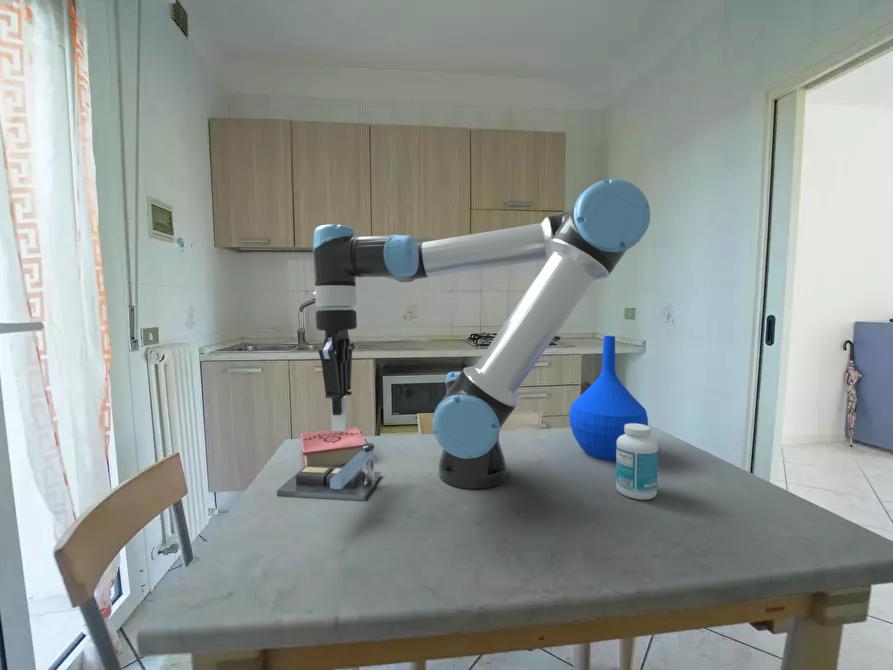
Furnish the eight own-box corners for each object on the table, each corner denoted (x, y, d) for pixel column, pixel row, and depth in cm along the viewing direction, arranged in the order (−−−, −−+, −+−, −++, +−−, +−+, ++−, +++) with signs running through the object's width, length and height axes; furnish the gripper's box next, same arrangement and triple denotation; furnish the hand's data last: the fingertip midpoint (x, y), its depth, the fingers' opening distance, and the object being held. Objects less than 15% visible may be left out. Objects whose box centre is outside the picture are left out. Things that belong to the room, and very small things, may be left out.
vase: (565, 439, 111) (567, 333, 109) (635, 443, 107) (639, 334, 105) (572, 465, 93) (575, 338, 91) (657, 471, 89) (661, 339, 87)
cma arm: (364, 452, 83) (364, 443, 83) (376, 453, 82) (376, 443, 82) (328, 488, 67) (328, 476, 67) (342, 489, 66) (342, 477, 66)
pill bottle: (655, 488, 81) (657, 423, 80) (657, 504, 74) (660, 434, 73) (615, 481, 84) (617, 419, 83) (614, 496, 77) (616, 429, 76)
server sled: (381, 476, 87) (381, 448, 87) (365, 500, 76) (364, 468, 76) (303, 472, 89) (302, 445, 89) (276, 495, 78) (275, 464, 78)
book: (371, 463, 95) (370, 443, 95) (303, 474, 89) (303, 452, 89) (360, 444, 108) (360, 426, 108) (301, 452, 103) (301, 433, 102)
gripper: (329, 308, 82) (333, 419, 84) (302, 309, 69) (307, 440, 71) (364, 308, 82) (367, 420, 84) (344, 309, 69) (348, 441, 71)
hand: (339, 429), depth 77 cm, fingers closed
